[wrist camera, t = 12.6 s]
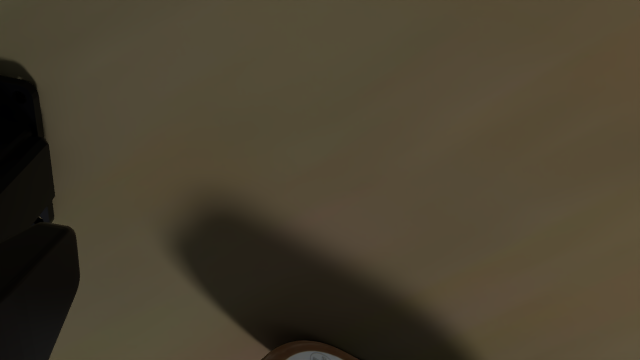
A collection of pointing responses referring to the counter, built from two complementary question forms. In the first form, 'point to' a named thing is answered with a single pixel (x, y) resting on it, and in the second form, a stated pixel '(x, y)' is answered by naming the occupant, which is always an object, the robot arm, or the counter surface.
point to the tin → (307, 352)
